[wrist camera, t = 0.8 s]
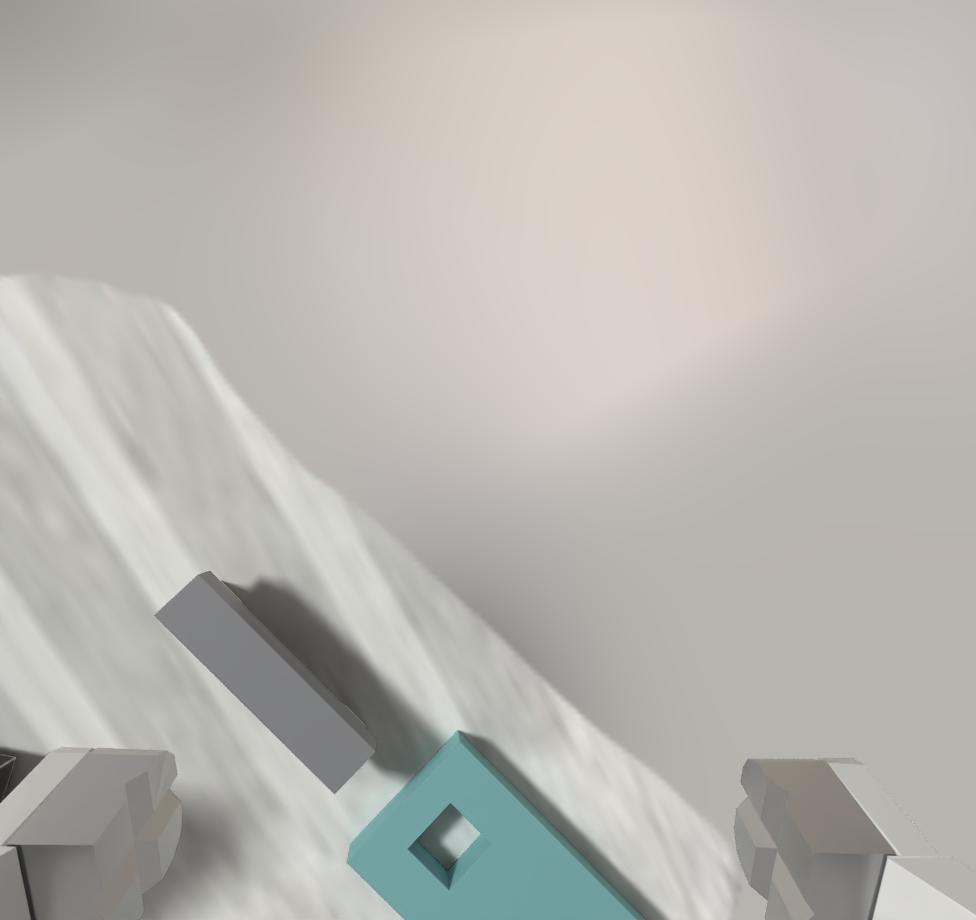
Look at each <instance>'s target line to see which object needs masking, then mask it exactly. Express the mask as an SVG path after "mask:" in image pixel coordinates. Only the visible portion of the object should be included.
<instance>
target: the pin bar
mask: <svg viewBox="0 0 976 920" xmlns="http://www.w3.org/2000/svg"><path fill="white" fill-rule="evenodd" d="M154 616H155V617H156V618H157V619H158V620H159V621H160V622H161V623H162V624H163V625H164V626H165V627H166V628H167V629H168V630H169V631H170V632H171V633H172V634H173V635H174V636H175V637H176V638H177V639H178V640H179V641H180V642H181V643H182V644H183V645H184V646H185V647H186V648H187V649H188V650H189V651H190V652H191V653H192V654H193V655H194V656H195V657H196V658H197V659H198V660H200V661H201V662H202V663H203V664H204V665H205V666H206V667H207V668H208V669H209V670H210V671H211V672H212V673H213V674H214V675H215V676H216V677H217V678H218V679H219V680H220V681H221V682H222V683H223V684H224V685H225V686H226V687H227V688H228V689H229V690H230V691H231V692H232V693H233V694H234V695H235V696H236V697H237V698H238V699H239V700H240V701H241V702H242V703H243V704H244V705H245V706H246V707H247V708H248V709H249V710H250V711H251V712H252V713H253V714H254V715H255V716H256V717H257V718H258V719H259V720H260V721H261V722H262V723H263V724H264V725H265V726H266V727H267V728H268V729H269V730H270V731H271V732H272V733H273V734H274V735H275V736H276V737H277V738H278V739H279V740H280V741H281V742H282V743H283V744H284V745H285V746H286V747H287V748H288V749H289V750H290V751H291V752H292V753H293V754H294V755H295V756H296V757H297V758H298V759H299V760H300V761H301V762H302V763H303V764H304V765H305V766H306V767H307V768H308V769H309V770H310V771H311V772H313V773H314V774H315V775H316V776H317V777H318V778H319V779H320V780H321V781H322V782H323V783H324V784H325V785H326V786H327V787H328V788H329V789H330V790H331V791H332V792H333V793H334V794H335V793H336V792H337V791H338V790H339V789H340V788H341V787H342V786H343V785H344V784H345V783H346V782H347V781H348V780H349V779H350V778H351V777H352V776H353V775H354V774H355V773H356V771H357V770H358V769H359V768H360V767H361V766H362V765H363V764H364V763H365V762H366V761H367V760H368V759H369V758H370V757H371V756H372V755H373V754H374V753H375V752H376V746H377V739H378V738H377V737H376V736H375V735H374V734H373V733H372V732H371V731H370V730H369V729H368V728H367V727H366V726H365V724H364V723H363V722H362V721H361V720H360V719H359V718H358V717H357V716H356V715H355V714H354V713H353V712H352V711H351V710H350V709H349V708H348V707H347V706H346V705H345V704H343V703H342V702H341V701H340V700H339V699H338V698H337V697H336V696H335V695H334V694H333V693H332V692H331V691H330V690H329V689H328V688H327V687H326V686H325V685H324V684H323V683H322V682H321V681H320V680H319V679H318V678H317V677H316V676H315V675H314V674H313V673H312V672H311V671H310V670H309V669H308V668H307V667H306V666H305V665H304V664H303V663H302V662H301V661H300V660H299V659H298V658H297V657H296V656H295V655H294V654H293V653H292V652H291V651H290V650H289V649H288V648H287V647H286V646H285V645H284V644H283V643H282V642H281V641H280V640H279V639H278V638H277V637H276V636H275V635H274V634H273V633H272V632H271V631H270V630H269V629H268V628H267V627H266V626H265V625H264V624H263V623H262V622H261V621H260V620H259V619H258V618H257V617H256V616H255V615H254V614H253V613H252V612H251V611H250V610H249V609H248V608H247V607H246V606H245V605H244V604H243V602H242V601H241V600H240V599H239V598H238V597H237V596H236V595H235V594H234V593H233V592H232V591H231V590H230V589H229V588H228V587H227V586H226V585H225V584H224V583H223V582H222V581H220V580H219V579H218V578H217V577H216V576H215V575H214V574H213V573H212V572H211V571H208V572H204V573H201V574H198V575H197V576H196V577H195V578H194V579H193V580H192V581H191V582H190V583H189V584H187V585H186V586H185V587H184V588H183V589H182V590H181V591H180V592H179V593H178V594H177V595H176V596H175V597H173V598H172V599H171V600H170V601H169V602H168V603H167V604H166V605H165V606H164V607H163V608H162V609H161V610H159V611H158V612H157V613H156V614H155V615H154Z"/></svg>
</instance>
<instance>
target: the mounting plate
mask: <svg viewBox="0 0 976 920" xmlns="http://www.w3.org/2000/svg"><path fill="white" fill-rule="evenodd" d="M450 803H451V804H452V805H453V806H454V807H455V808H456V809H457V810H458V811H459V812H460V813H461V814H462V815H463V816H464V817H465V818H466V819H467V820H468V821H469V822H470V823H471V824H472V825H473V826H474V827H475V828H476V829H477V830H478V831H479V832H480V833H481V835H480V836H479V837H478V838H477V839H476V840H475V841H474V842H473V844H472V845H471V846H470V847H469V848H468V849H467V850H466V851H465V852H464V853H463V855H462V856H461V857H460V858H459V859H458V860H457V861H456V862H455V863H454V864H453V866H452V867H451V868H450V869H449V870H448V871H447V870H446V869H445V868H444V867H443V866H442V865H441V864H440V863H439V862H438V861H437V860H436V859H435V858H434V857H433V856H432V855H431V854H430V853H429V852H428V851H427V850H426V849H425V848H424V847H423V846H422V845H421V844H420V843H419V842H418V841H417V840H416V839H417V838H418V837H419V836H420V835H421V834H422V833H423V832H424V831H425V830H426V828H427V827H428V826H429V825H430V824H431V823H432V822H433V821H434V820H435V819H436V818H437V817H438V816H439V814H440V813H441V812H442V811H443V810H444V809H445V808H446V807H447V806H448V805H449V804H450ZM347 863H348V864H349V865H350V866H351V867H352V868H353V869H354V870H355V871H356V872H357V873H358V874H359V875H360V876H361V877H362V878H363V879H364V880H365V881H366V882H367V883H368V884H369V885H370V886H371V887H372V888H373V889H374V890H375V891H376V892H377V893H378V894H379V895H380V896H381V897H382V898H383V899H384V900H385V901H386V902H387V903H388V904H389V905H390V906H391V907H392V908H393V909H394V910H395V911H396V912H397V913H398V914H399V915H400V916H401V917H402V918H404V919H405V920H646V919H645V918H644V917H643V916H642V915H641V914H640V913H639V912H638V911H637V910H636V909H635V908H634V907H633V906H632V905H631V904H630V903H629V902H628V901H627V900H626V899H625V898H624V897H623V896H622V895H621V894H620V893H619V892H618V891H617V890H616V889H615V888H614V887H613V886H612V885H611V884H610V883H609V882H608V881H607V880H606V879H605V878H604V877H603V876H602V875H601V874H600V873H599V872H598V871H597V870H596V869H595V868H594V867H593V866H592V865H591V864H590V863H589V862H588V861H587V860H586V859H585V858H584V857H583V856H582V855H581V854H580V853H579V852H578V851H577V850H576V849H575V848H574V847H573V846H572V845H571V844H570V843H569V842H568V841H567V840H566V839H565V838H564V837H563V836H562V835H561V834H560V833H559V832H558V831H557V830H556V829H555V828H554V827H553V826H552V825H551V824H550V823H549V822H548V821H547V820H546V819H545V818H544V817H543V816H542V815H541V814H540V813H539V812H538V811H537V810H536V809H535V808H534V807H533V806H532V805H531V804H530V803H529V802H528V801H527V800H526V799H525V798H524V797H523V795H522V794H521V793H520V792H519V791H518V790H517V789H516V788H515V787H514V786H513V785H512V784H511V783H510V782H509V781H508V780H507V779H506V778H505V777H504V776H503V775H502V774H501V773H500V772H499V771H498V770H497V769H496V768H495V767H494V766H493V765H492V764H491V763H490V762H489V761H488V760H487V759H486V758H485V757H484V756H483V755H482V754H481V753H480V752H479V751H478V750H477V749H476V748H475V747H474V746H473V745H472V744H471V743H470V742H469V741H468V740H467V739H466V738H465V737H464V736H463V735H462V734H461V733H460V732H459V731H457V732H456V733H455V734H454V735H453V736H452V737H451V738H450V739H449V740H448V741H447V742H446V743H445V744H444V746H443V747H442V748H441V749H440V750H439V751H438V752H437V753H436V754H435V755H434V756H433V757H432V758H431V759H430V760H429V761H428V762H427V763H426V765H425V766H424V767H423V768H422V769H421V770H420V771H419V772H418V773H417V774H416V775H415V776H414V777H413V778H412V779H411V780H410V781H409V783H408V784H407V785H406V786H405V787H404V788H403V789H402V790H401V791H400V792H399V793H398V794H397V795H396V796H395V797H394V798H393V799H392V800H391V802H390V803H389V804H388V805H387V806H386V807H385V808H384V809H383V810H382V811H381V812H380V813H379V814H378V815H377V816H376V817H375V818H374V819H373V821H372V822H371V823H370V824H369V825H368V826H367V827H366V828H365V829H364V830H363V831H362V832H361V833H360V834H359V835H358V836H357V837H356V839H355V840H354V841H353V842H352V843H351V844H350V848H349V853H348V859H347Z"/></svg>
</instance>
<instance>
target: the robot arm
mask: <svg viewBox="0 0 976 920" xmlns="http://www.w3.org/2000/svg"><path fill="white" fill-rule="evenodd" d="M176 776H177V769H176V763H175V757H174V755H173V754H172V753H170V752H168V751H163V750H138V749H112V748H97V749H92V748H68V747H62V748H59V749H57V750H55V751H52V752H50V753H49V754H48V755H47V756H46V757H45V758H44V759H43V760H42V761H41V762H40V763H39V764H38V765H37V766H36V767H35V768H34V769H33V770H32V771H31V772H30V773H29V774H28V775H27V776H26V777H25V778H24V779H23V780H22V782H21V783H20V784H19V785H18V786H17V787H16V788H15V789H14V790H13V791H12V792H11V793H10V794H9V795H8V796H7V797H6V798H5V799H4V800H3V801H2V802H1V803H0V920H140V919H141V917H142V915H143V914H144V907H143V899H142V895H143V894H144V893H145V892H147V891H148V890H149V889H151V888H152V887H153V886H154V885H156V884H157V883H158V882H160V881H161V880H162V879H163V877H164V875H165V874H166V872H167V870H168V868H169V866H170V864H171V862H172V860H173V858H174V855H175V852H176V848H177V845H178V842H179V839H180V835H181V826H182V808H181V801H180V800H179V799H178V798H177V797H176V796H175V795H174V794H173V793H172V791H171V790H170V789H169V787H170V786H171V784H172V783H173V781H174V780H175V778H176ZM741 784H742V786H743V788H744V790H745V791H746V793H747V795H748V797H747V798H746V799H745V800H744V801H743V802H742V803H741V804H740V805H739V806H738V807H737V808H736V816H735V825H734V832H735V840H736V849H737V853H738V856H739V860H740V863H741V867H742V869H743V871H744V874H745V876H746V878H747V880H748V882H749V885H750V886H751V887H752V888H754V889H755V890H756V891H757V892H758V893H759V894H761V895H762V896H763V897H764V898H765V899H766V900H768V902H767V908H766V914H765V919H766V920H976V871H975V870H973V869H972V868H970V867H969V866H967V865H965V864H964V863H962V862H960V861H959V860H957V859H955V858H954V857H941V856H940V855H939V854H938V852H937V851H936V850H935V849H934V848H933V846H932V845H931V844H930V843H929V842H928V840H927V839H926V838H925V837H924V836H923V834H922V833H921V832H920V831H919V830H918V828H916V826H915V825H914V824H913V823H912V821H911V820H910V819H909V818H908V817H907V815H906V814H905V813H904V812H903V811H902V809H901V808H900V807H899V806H898V805H897V804H896V802H895V801H894V800H893V799H892V798H891V796H890V795H889V794H888V793H887V792H886V790H885V789H884V788H883V787H882V786H881V785H880V783H879V782H878V781H877V780H876V779H875V777H874V776H873V775H872V774H871V773H870V771H869V770H868V769H867V768H866V767H865V766H864V765H863V764H862V763H861V762H859V761H857V760H856V759H854V758H831V759H830V758H829V759H828V758H818V759H817V760H815V759H748V760H747V761H746V763H745V765H744V767H743V771H742V776H741Z"/></svg>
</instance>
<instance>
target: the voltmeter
mask: <svg viewBox="0 0 976 920" xmlns="http://www.w3.org/2000/svg"><path fill="white" fill-rule="evenodd" d="M15 760H16V757H13V756H8V755H3V754H0V803H1V802H2V801H3V799H4V795H5V792H6V789H7V786H8V782H9V779H10V776H11V773H12V770H13V766H14V763H15Z"/></svg>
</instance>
